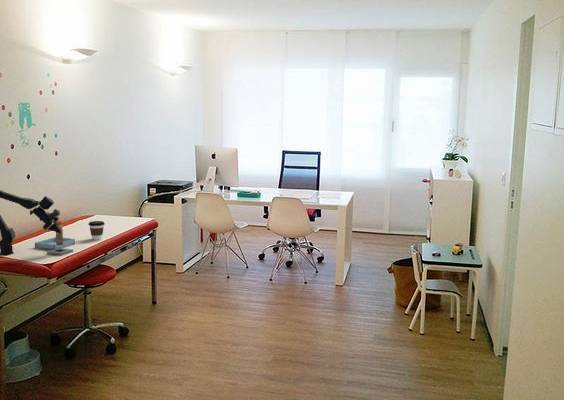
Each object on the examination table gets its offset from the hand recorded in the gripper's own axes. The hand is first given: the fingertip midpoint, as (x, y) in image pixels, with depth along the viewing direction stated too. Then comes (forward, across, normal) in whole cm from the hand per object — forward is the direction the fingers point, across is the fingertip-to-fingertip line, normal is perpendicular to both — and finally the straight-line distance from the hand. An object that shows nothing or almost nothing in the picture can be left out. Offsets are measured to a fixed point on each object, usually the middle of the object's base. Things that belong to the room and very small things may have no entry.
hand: (61, 232), depth 346 cm
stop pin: (+5, 0, +7) cm, 8 cm away
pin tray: (+3, +20, +16) cm, 26 cm away
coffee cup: (+20, +40, -1) cm, 45 cm away
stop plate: (+9, 0, +10) cm, 14 cm away
